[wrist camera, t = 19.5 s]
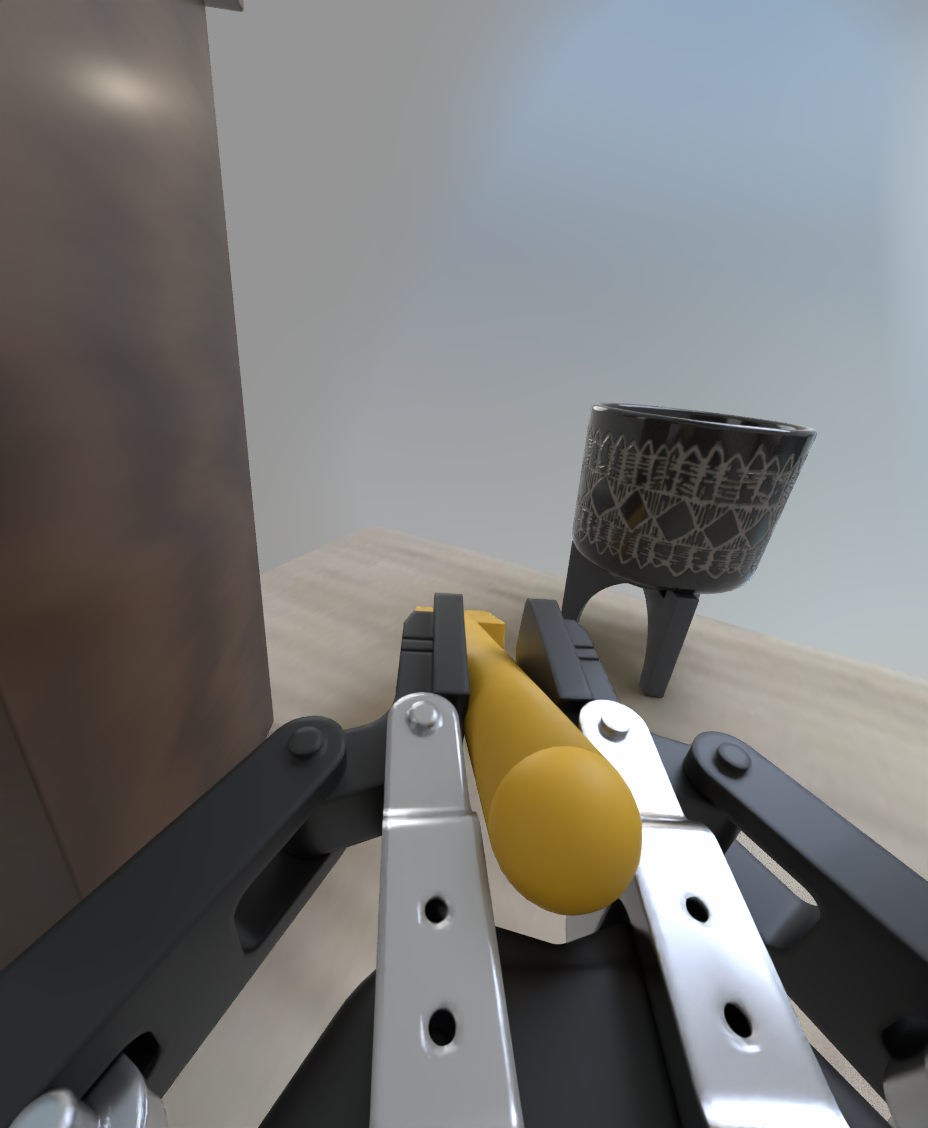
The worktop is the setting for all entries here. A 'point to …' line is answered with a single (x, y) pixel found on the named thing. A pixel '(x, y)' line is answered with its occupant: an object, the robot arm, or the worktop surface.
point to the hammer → (544, 786)
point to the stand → (116, 450)
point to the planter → (676, 512)
